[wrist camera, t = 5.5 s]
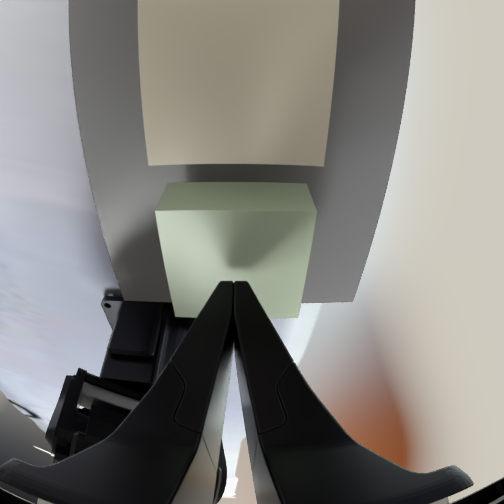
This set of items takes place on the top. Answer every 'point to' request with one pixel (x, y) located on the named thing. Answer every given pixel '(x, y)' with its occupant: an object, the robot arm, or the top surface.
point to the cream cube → (237, 80)
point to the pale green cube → (236, 241)
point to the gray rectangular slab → (316, 177)
